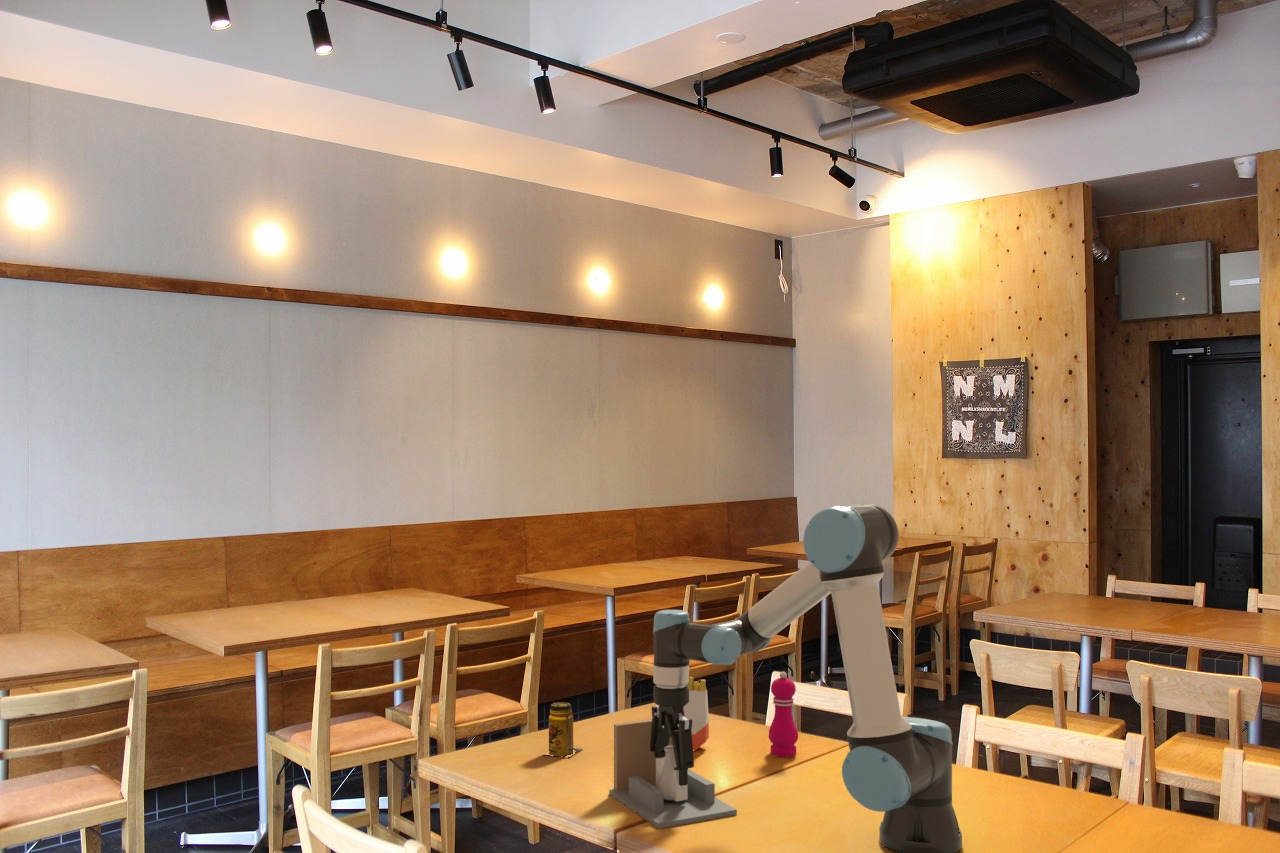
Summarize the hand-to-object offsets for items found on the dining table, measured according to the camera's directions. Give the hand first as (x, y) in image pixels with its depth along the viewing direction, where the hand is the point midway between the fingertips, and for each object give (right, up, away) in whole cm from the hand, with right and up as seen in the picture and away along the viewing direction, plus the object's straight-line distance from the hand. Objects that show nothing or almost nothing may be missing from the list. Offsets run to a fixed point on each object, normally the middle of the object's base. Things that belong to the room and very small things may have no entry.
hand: (671, 794), depth 218 cm
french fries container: (+5, -3, +42) cm, 42 cm away
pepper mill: (+29, -3, +37) cm, 47 cm away
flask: (0, -1, 0) cm, 1 cm away
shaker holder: (0, -2, 0) cm, 2 cm away
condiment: (-26, -3, +38) cm, 46 cm away
